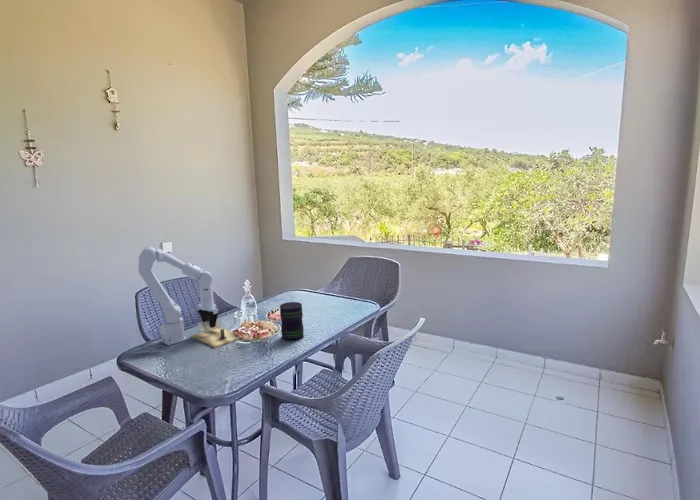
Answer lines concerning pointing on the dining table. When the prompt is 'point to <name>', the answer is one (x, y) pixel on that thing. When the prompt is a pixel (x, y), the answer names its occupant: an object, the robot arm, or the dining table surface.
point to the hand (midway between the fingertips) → (209, 325)
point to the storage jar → (291, 321)
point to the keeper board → (215, 337)
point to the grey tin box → (208, 326)
